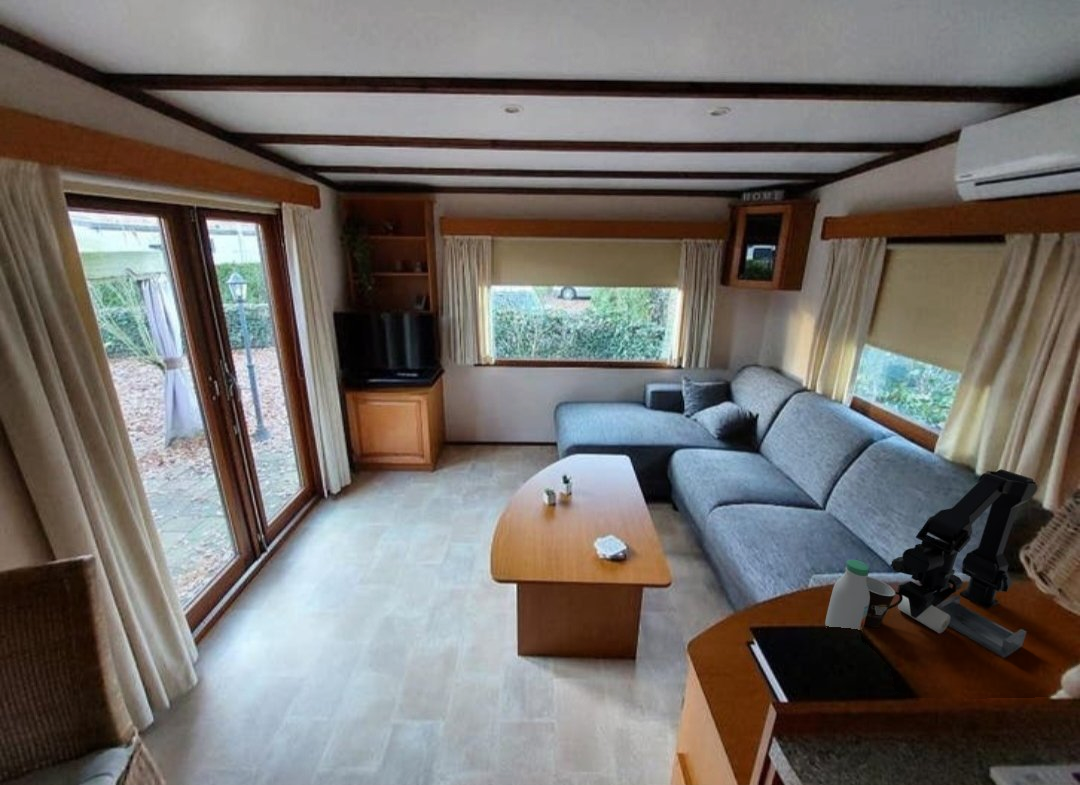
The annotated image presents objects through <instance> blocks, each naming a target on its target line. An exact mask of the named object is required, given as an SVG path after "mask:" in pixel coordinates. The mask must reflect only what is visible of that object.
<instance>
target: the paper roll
mask: <svg viewBox="0 0 1080 785" xmlns="http://www.w3.org/2000/svg"><path fill="white" fill-rule="evenodd" d="M902 597H903V599H902V602H901V603H900V604H898V605H897V609H898V610H899V611H901V612H902V613H904V614H905V615H908V616H909V617H910V618H912V619H914V620H916V621H917V622H919V623H921V624H923V625H924V626H926V627H927V628H929V629H930V630H933V631H934V632H936V633H938V634H942V633H943V632H944V631H945V630H946V629H947V628H948V627H949V626H948V624H949V622H950V615H949V614H947V613H945V612H943V611H941V610H940V609H938V607H937V606H936V607H934V606H932V605H931V606H930V607H929V608H928V609H926V610H925V611H924V612H923V613H922V614H921V615H919V616H918V617H917V618H914V617H912V616H911V612H910V605H909V600H908V598H906V597H905V596H903V595H902Z"/></svg>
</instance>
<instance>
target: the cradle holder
mask: <svg viewBox="0 0 1080 785" xmlns="http://www.w3.org/2000/svg"><path fill="white" fill-rule="evenodd" d="M960 600H961V596H959V595H956V594H955V595H954V596H950V597H948V598H947V599H945V600H944V601H943V602H941V603H940V604H939V605H937V608H938V609H940V610H941V611H943V612H945V613H947V614H949V615H950V622H949V624H948V626H947V627H949V628H951V629H952V630H955V631H956V632H958V633H960V634H961V635H963V636H965V637H966V638H968V639H970V640H972V641H973V642H975V643H977V644H979V645H980V646H982V647H984V648H986V649H987V650H990V651H991V652H993V653H995V654H996V655H998V656H1000V657H1002V658H1004V659H1005V658H1007V657H1008V656H1010V655H1012V654H1013V653H1015V652H1016V651H1018V650H1019V649H1020V648H1022V647H1023V644H1024V641H1025V639H1026V635H1027V632H1028V631H1026V630H1024V629H1022V628H1020V629H1018V631H1015V632H1013V631H1011V630H1010V629H1007V628H1006V627H1004V626H1002V625H1000V624H998V623H996V622H995V621H992V620H990V619H989V618H987V617H985V616H983V615H981V614H979V613H977V612H975V611H974V610H972V609H969V608H968V607H966V606H963V605H962V604H961V603H960Z"/></svg>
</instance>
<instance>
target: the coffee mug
mask: <svg viewBox="0 0 1080 785" xmlns="http://www.w3.org/2000/svg"><path fill="white" fill-rule="evenodd" d="M866 583H867V587H868V590H869V594H870V602H869V607H868V611H867V615H866V619H865V623H864V626H865V625H866V626H869V627H871V628H872V627H873V628H878V626H879V627H880V626H881V624H882V622H883V620H884V618H885V616H886V614H887V612H888V610H890V609H892V608H895V607H898V604H900V603H901V602H902V599H903V597H902V596H903V595H901V594H900V593H898V591H895V589H893V587H892V586H890V585H889V584H888V583H885V582H883V581H882V580H880V579H877V578H874V577H873V576H872V577H871V576H868V577H866ZM896 595H898V596H899V598H898V601H896V602H895V603H894V604H891V603H892V601H893V600H894V597H895V596H896Z"/></svg>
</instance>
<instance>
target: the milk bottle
mask: <svg viewBox="0 0 1080 785" xmlns="http://www.w3.org/2000/svg"><path fill="white" fill-rule="evenodd" d="M869 573H870V567H869V566H868V565H867V564H866V563H865V562H863V561H860V560H858V559H848V560H847V561H846V564H845V572H844V573H843V575H842V576H841V577H839V578H838V579H837V581H836V582H835V584H834V585H833V588H832V592H831V596H830V599H829V600H830V601H829V604H828V608H827V613H826V618H825V622H824V623H825V627H826V626H829V627H841V628H851V629H858V630H861V631H862V632H863V631H864V627H865V624H864V623H865V619H866V615H867V611H868V607H869V602H870V594H869V590H868V587H867V583H866V577H869Z"/></svg>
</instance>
